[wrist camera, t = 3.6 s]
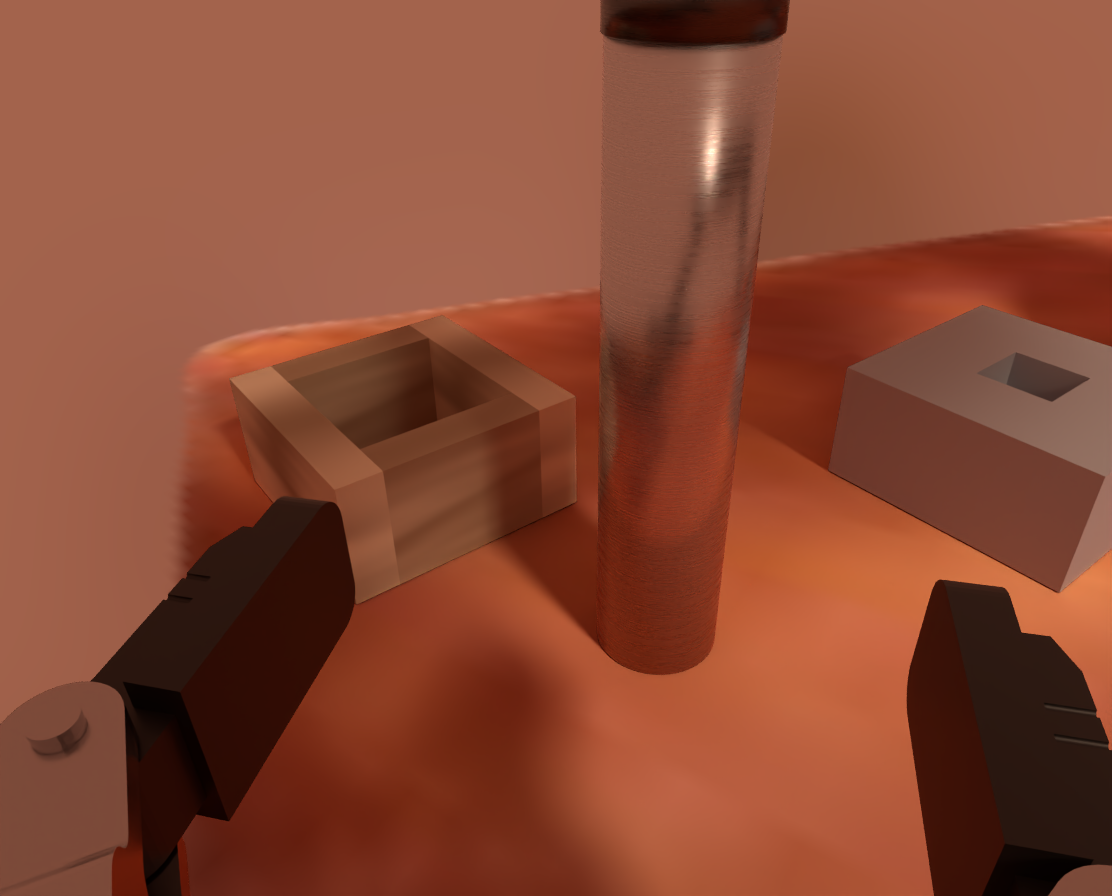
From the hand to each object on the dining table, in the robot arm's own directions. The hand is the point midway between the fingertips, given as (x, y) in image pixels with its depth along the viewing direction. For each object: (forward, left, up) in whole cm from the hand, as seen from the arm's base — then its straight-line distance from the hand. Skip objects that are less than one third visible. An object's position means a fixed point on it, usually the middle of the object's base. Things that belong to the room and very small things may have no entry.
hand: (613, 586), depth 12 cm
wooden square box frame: (+15, -4, -9) cm, 18 cm away
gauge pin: (+5, -6, -9) cm, 12 cm away
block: (+3, -20, -9) cm, 22 cm away
